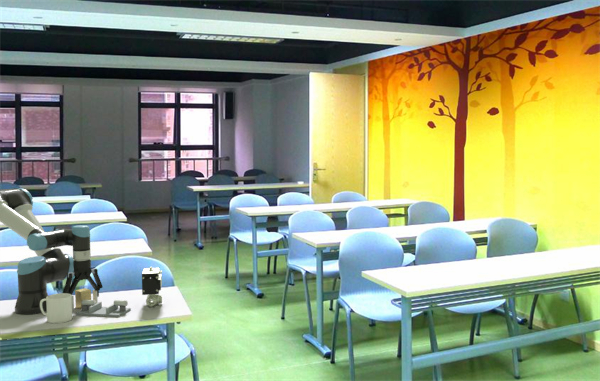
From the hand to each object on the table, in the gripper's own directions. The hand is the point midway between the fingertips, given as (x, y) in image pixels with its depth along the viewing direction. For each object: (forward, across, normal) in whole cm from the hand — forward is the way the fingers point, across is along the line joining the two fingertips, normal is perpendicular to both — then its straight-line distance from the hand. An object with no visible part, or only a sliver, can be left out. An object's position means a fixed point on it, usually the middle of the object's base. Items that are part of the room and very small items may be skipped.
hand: (83, 306), depth 271 cm
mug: (0, -18, -10) cm, 21 cm away
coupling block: (0, 0, 0) cm, 0 cm away
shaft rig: (0, +1, -16) cm, 16 cm away
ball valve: (0, +23, -21) cm, 31 cm away
